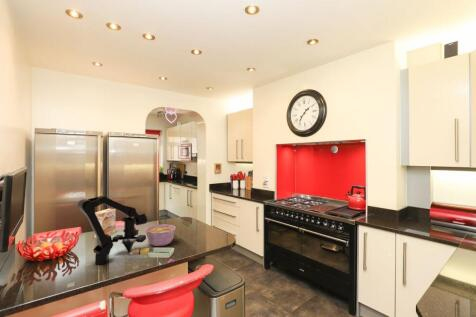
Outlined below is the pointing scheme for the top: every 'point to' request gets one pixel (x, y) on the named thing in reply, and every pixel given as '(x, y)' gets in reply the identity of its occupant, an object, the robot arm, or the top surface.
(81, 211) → the robot arm
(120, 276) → the top surface
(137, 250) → the oak chip
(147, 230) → the bowl of food
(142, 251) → the yellow block
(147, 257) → the slot board
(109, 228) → the coffeecake box
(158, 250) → the tray
